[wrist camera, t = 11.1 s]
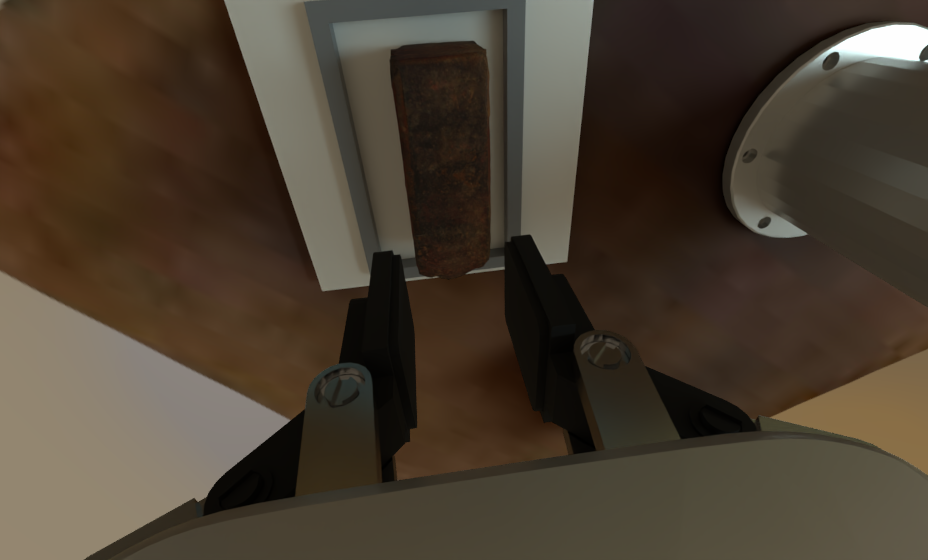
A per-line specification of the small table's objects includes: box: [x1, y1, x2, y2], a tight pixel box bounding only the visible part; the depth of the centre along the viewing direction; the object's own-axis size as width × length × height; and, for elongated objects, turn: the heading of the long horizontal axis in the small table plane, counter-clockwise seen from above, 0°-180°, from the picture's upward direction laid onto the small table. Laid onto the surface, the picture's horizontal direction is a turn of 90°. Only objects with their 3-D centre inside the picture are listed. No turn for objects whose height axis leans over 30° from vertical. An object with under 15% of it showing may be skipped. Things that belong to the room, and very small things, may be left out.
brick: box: [389, 41, 491, 280], centre depth 20 cm, size 11×4×5 cm, turn 2°
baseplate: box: [224, 0, 594, 291], centre depth 22 cm, size 16×16×2 cm
